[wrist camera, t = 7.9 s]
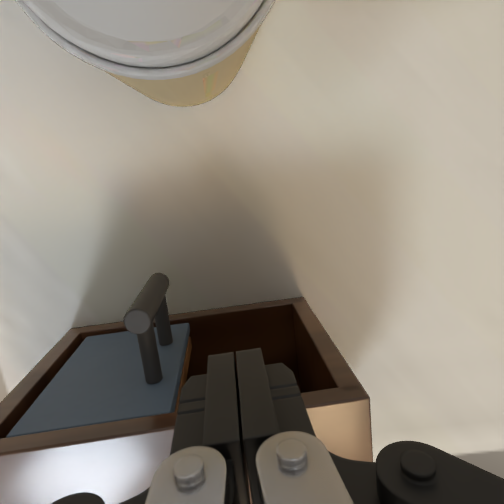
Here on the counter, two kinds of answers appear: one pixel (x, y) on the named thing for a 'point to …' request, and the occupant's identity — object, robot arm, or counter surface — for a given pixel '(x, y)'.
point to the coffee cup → (156, 41)
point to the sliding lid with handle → (116, 371)
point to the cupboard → (162, 426)
